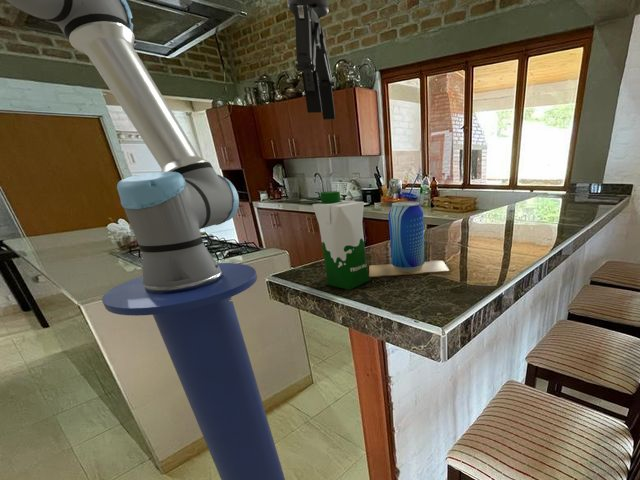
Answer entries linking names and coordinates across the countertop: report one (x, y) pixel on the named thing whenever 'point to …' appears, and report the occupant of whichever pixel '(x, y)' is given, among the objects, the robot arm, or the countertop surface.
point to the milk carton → (342, 240)
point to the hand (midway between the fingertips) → (322, 116)
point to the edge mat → (391, 271)
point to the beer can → (406, 236)
